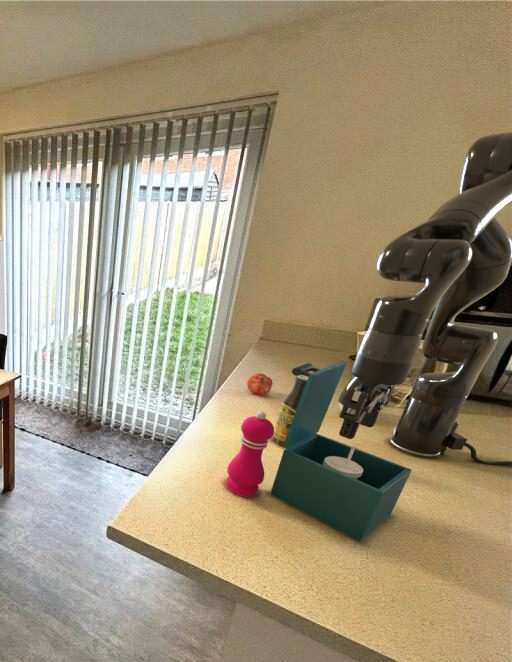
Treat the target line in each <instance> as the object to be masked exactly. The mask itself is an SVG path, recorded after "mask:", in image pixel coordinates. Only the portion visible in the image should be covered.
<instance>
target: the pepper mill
mask: <svg viewBox="0 0 512 662" xmlns="http://www.w3.org/2000/svg"><path fill="white" fill-rule="evenodd" d="M240 431H241V433H242V434H241V435H240V437H241V438H240V443H241V447H240V449H239V452H238V453H237V454H236V455H235V456H234V457H233V458H232V459H231V460H230V461H229V463H228V465H227V468H226V471H227V475H228V476H227V478H226V482H225V485H226V488H227V489H228V490H229V491H230V492H231V493H233V494H235V495H238V496H241V497H245V498H250V497H251V498H252V497H254V496H256V495H257V494H258V491H259V485H261V484H262V483H263V482H264V480H265V468H264V465H263V462H262V456H263V451H264V450H265V449H266V448H267V447H268V444H269V440H270V439H271V437H272V436H273V434H274V424H273V422H272V421H270V420H269V419H267V413H265V411H258V412H256V414H255V415H253V416H249V417H247V418H245V419H244V420H243V421H242V423H241V425H240Z"/></svg>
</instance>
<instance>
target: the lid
mask: <svg viewBox="0 0 512 662" xmlns="http://www.w3.org/2000/svg"><path fill="white" fill-rule="evenodd" d="M347 363H348V362H347V361H344V360H342V361H339V362H337V363H334V364H332V365H328V366H326V367H323V368H321V369H320V368H317V367H314V365H313V364H312V363H309V362H307V363H304V364H302V365H299V366H296V367H293V368H292V370H291V374H292V375H293V376H299V375H304V376H307V377H309V378H308V380H307V383H306V386H305V388H304V391H303V394H302V396H301V399H300V402H299V404H298V407H297V410H296V413H295V415H294V418H293V421H292V423H291V426H290V429H289V431H288V434H287V437H286V439H285V442H284V445H283V446H282V448H283V449H284V450H285V449H287V448H289V447H291V446H293V445H295V444H297V443H299V442H300V441H302V440H304V439H306V438H308V437H310V436H312V435H314V434H316V433H317V434H318V433H319V431H320V429H321V427H322V425H323V422H324V419H325V417H326V414H327V412H328V409H329V407H330V405H331V402H332V400H333V398H334V395H335V392H336V391H337V387H338V386H339V383H340V380H341V379H342V376H343V373H344V371H345V368H346V366H347Z"/></svg>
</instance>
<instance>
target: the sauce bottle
mask: <svg viewBox="0 0 512 662" xmlns="http://www.w3.org/2000/svg"><path fill="white" fill-rule="evenodd" d="M308 378H309V377H307V376H304V375H299V376H296V377H295V378H294V384H293V387H292V389H291V390H290V391H289V393H288V394H287V395H286V397H284V399H283V401H282V402H281V405H280V407H279V410H278V413H277V415H276V419H275V423H274V424H273V426H274V434H273V436H272V437H271V438H270V439H271V441H272V442H273V443H275V444H277V445H279V446H281V447H283V445H284V442H285V439H286V437H287V434H288V431H289V429H290V426H291V423H292V421H293V418H294V415H295V413H296V410H297V407H298V404H299V402H300V399H301V396H302V394H303V391H304V388H305V386H306V383H307V380H308Z"/></svg>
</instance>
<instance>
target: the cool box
mask: <svg viewBox="0 0 512 662" xmlns="http://www.w3.org/2000/svg"><path fill="white" fill-rule="evenodd" d="M351 447H352V445H351V446H350V445H349V444H346V443H343V442H340V441H338V440H335V439H333V438H330V437H327V436H325V435H322V434H319V433H318V432H317V433H316V434H314V435H312V436H310V437H308V438H306V439H304V440H302V441H300V442H299V443H297V444H295V445H293V446H291V447H289V448H287V449H285V448H284V449H283V451H282V455H281V458H280V461H279V464H278V467H277V471H276V474H275V477H274V481H273V484H272V487H271V490H270V495H271V496H273V497H275V498H276V499H279V500H281V501H282V502H284V503H286V504H288V505H290V506H292V507H294V508H295V509H297V510H299V511H301V512H303V513H305V514H307V515H309V516H311V518H312V517H313V518H315V519H316V520H318V521H320V522H322V523H324V524H325V525H327V526H329V527H331V528H333V529H335V530H336V531H338V532H340V533H342V534H345V535H346V536H348V537H349V538H352V539H354V540H355V541H358V542H362V541H363V540H364V539H365V538H367V537H368V536H369V535H370V534H371V533H373V532H374V531H375V530H376V529H377V528H378V527H380V526H381V525H382V524H383V523H384V522H385V521H386V520H388V519H389V518H390V517H391V515H392V513H393V510H394V508H395V507H396V504H397V503H398V500H399V498H400V496H401V494H402V492H403V490H404V488H405V485H406V483H407V482H408V479H409V477H410V476H411V473H412V471H413V469H412V468H409V467H407V466H403V465H400V464H398V463H396V462H392V461H390V460H387V459H385V458H383V457H380V456H377V455H375V454H372V453H370V452H366V451H364V450H362V449H358V448H357V447H355V450H354V452H353V455H352V457H351V461H353V462H355V463H357V464H359V465H360V466H361V467H362V468H363V473H362V476H360V477H358V478H357V480H356V479H354V478H352V477H349V476H347V475H345V474H342V473H340V472H338V471H335V470H333V469H331V468H328V467H326V466H324V465H323V461H324V459H325V458H326V457H329V456H337V457H342V458H346V459H347V457H348V455H349V452H350V450H351Z"/></svg>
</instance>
